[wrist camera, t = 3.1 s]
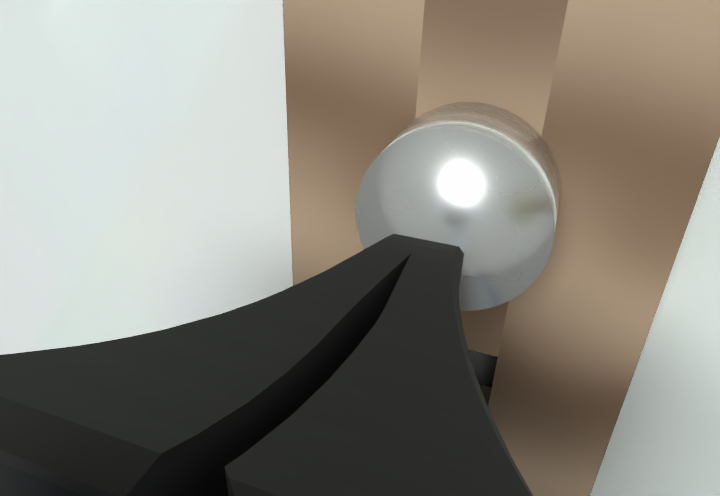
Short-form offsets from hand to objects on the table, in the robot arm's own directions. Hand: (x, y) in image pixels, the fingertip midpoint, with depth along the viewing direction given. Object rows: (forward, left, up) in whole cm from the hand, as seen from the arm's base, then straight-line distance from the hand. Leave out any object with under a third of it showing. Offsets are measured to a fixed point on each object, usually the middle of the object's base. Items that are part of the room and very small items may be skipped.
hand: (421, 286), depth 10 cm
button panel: (-6, 0, -7) cm, 9 cm away
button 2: (0, 0, -7) cm, 7 cm away
